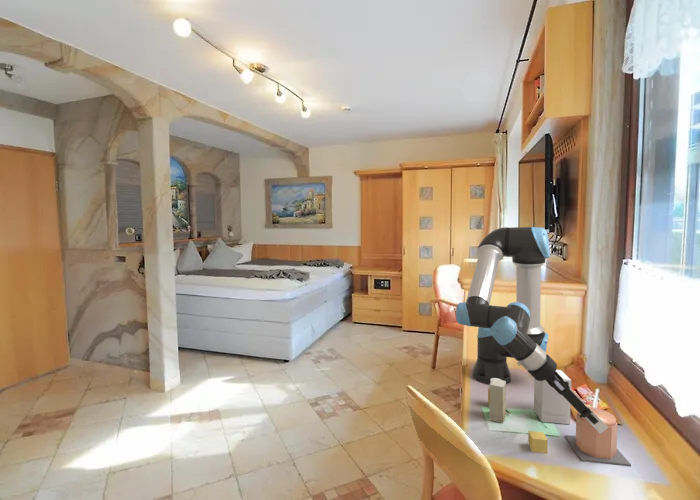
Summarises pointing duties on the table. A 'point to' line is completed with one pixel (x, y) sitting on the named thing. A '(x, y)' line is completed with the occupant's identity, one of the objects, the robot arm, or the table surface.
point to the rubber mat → (616, 460)
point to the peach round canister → (597, 435)
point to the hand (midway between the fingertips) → (592, 416)
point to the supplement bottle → (489, 391)
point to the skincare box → (497, 400)
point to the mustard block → (537, 442)
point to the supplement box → (551, 402)
